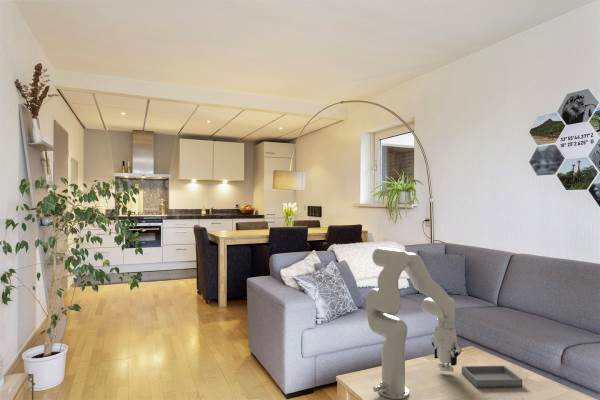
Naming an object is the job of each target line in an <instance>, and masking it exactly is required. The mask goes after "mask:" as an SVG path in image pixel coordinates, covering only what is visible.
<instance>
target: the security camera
mask: <svg viewBox="0 0 600 400" xmlns="http://www.w3.org/2000/svg"><path fill="white" fill-rule="evenodd" d="M453 353H454V351H453ZM437 357H438V358H437V359H438V360H439V361H440V362H441V363H438V364H437V365H438V368H439V370H440V371H441V372H454V371H455V369H454V368H453V367H454V366H451V357H452V355H451V353H450V352H448V351H445V350H444V348H442V347H439V348H438V347H437Z"/></svg>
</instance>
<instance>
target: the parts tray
mask: <svg viewBox="0 0 600 400" xmlns="http://www.w3.org/2000/svg"><path fill="white" fill-rule="evenodd" d="M461 375H462V376H463V377H464V378H466V379H467V381H468V382H470V384H472V386H473V387H474V388H475V389H512V388H513V389H517V388H521V389H522V388H523V378H521V377H520V376H518V375H517V374H516V373H514V371H512V370H510V369H509V368H508V367H507V366H506V365H463V366H461Z"/></svg>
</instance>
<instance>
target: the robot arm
mask: <svg viewBox="0 0 600 400" xmlns="http://www.w3.org/2000/svg"><path fill="white" fill-rule="evenodd" d="M371 255H372V261H373V263H374V265H376V266H377V267H379V268H380V267H381V268H382V269H381V271H380V272H379V274H378V275H377V287H373V288H371V289H370V290H368V292H367V294H366V296H365V307H366V314H367V323H368V326H369V328H370V330H371V332H372V333H375V334H376V335H378V336H382V337H383V338H385V341H384V343H383V344H382V347H381V381H379V384H378V385H375V386H373V387H372V390H373V392H378V394H379V395H381V396H383V397H385V398H387V399H391V400H403V399H406V398H407V397H409V395H410V389H409V388H408V387H407V386H406V341H407V336H408V325H407V323H406V321H405V320H403V319H402V318H400V317H397V316H396V315H398V314H399V313H400V312H401V307H402V306H401V305H402V304H401V303H402V302H401V295H400V288H399V280H400V276H401V274H402V273H403V272H406V274H407V276H408V278H409V280H410V282H411V284H412V285H413V287H414V289H415V290H416V291H418V292H419V293H421V294H423V295H425V296H426V298H424V299H423V301H422V302H421V309H422V311H423V312H424V313H426V314H428V315H431V316H434V317H436V319H435V322H437V324H436V325H435V327H434V333H433V337H430V338H429V339H430V342H431V345H432V347H433V350H434V359H438V357H437V347H438V348H439V347H442V348H444V350H445V351H448V352H450V353H451V355H452V357H451V363H450V365H451V366H452V367H454V366H457V363H458V357H459V355H461V353H462V351H463V349H462V348H461V346H459V344H458V338H457V330H456V328H455V325H456V323H455V322H456V321H455V318H456V317H455V315H456V313H455V311H456V310H455V309H456V305H455V304H456V303H455V302H456V301H455V299H454V298H453V297H450V296H449V294H448V293H447V292H446V290H444V289H443V287H441V286H440V285H439V284H438V283H437V282H436V281H434V280H433V278H432V277H431V275H430V273H429V271H428V268H427V267H426V265H425V263H424V261H423V258H422V257H421V256H420V255H419V254H417V253H415V252H409V251H408V252H407V251H404V250H402V249H396V248H389V247H377V248H376V249H375V250H374V251H373V252H372V254H371ZM453 351H454V353H453Z"/></svg>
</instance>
